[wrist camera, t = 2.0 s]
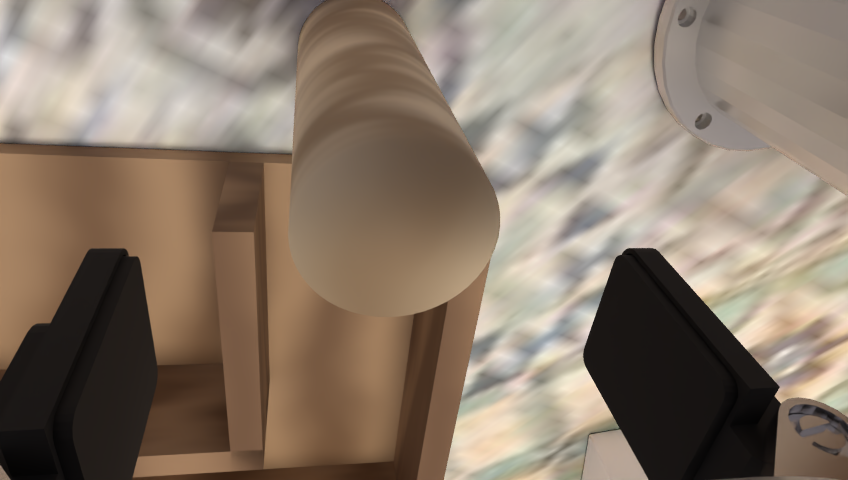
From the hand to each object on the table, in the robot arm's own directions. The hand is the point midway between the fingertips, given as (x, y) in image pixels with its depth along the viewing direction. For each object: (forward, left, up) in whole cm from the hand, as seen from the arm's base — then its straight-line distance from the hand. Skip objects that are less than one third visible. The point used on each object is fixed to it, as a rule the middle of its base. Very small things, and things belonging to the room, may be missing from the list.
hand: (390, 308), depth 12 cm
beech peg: (0, 0, -18) cm, 18 cm away
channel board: (+6, +17, -18) cm, 25 cm away
